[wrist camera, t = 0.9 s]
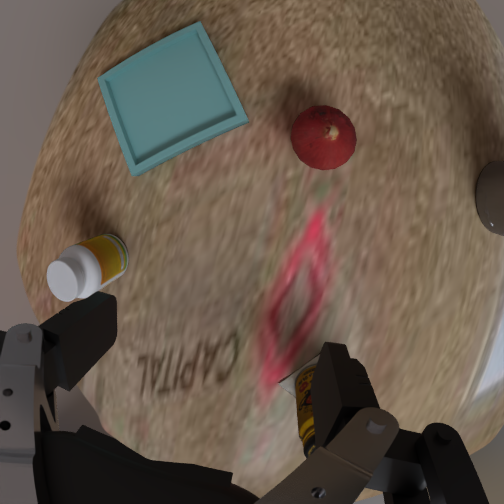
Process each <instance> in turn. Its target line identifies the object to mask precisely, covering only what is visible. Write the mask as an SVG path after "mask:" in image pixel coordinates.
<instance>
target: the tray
mask: <svg viewBox="0 0 504 504" xmlns="http://www.w3.org/2000/svg"><path fill="white" fill-rule="evenodd" d="M97 79H98V82H99V85H100V88H101V92H102V95H103V98H104V101H105V104H106V107H107V110H108V113H109V116H110V118H111V121H112V124H113V127H114V130H115V133H116V135H117V138H118V141H119V144H120V146H121V149H122V152H123V154H124V157H125V159H126V162H127V165H128V167H129V170H130V172H131V175H132V176H139V175H141V174H143V173H145V172H147V171H148V170H150V169H152V168H154V167H156V166H158V165H160V164H162V163H163V162H165V161H167V160H169V159H171V158H173V157H175V156H177V155H179V154H181V153H183V152H185V151H187V150H189V149H191V148H193V147H195V146H197V145H199V144H202V143H204V142H206V141H208V140H210V139H212V138H214V137H217V136H219V135H221V134H223V133H225V132H228V131H230V130H232V129H235V128H237V127H239V126H242V125H244V124H246V123H249V120H248V118H247V116H246V114H245V112H244V110H243V107H242V105H241V103H240V101H239V99H238V97H237V94H236V92H235V90H234V88H233V86H232V84H231V82H230V80H229V78H228V76H227V74H226V71H225V69H224V67H223V65H222V63H221V61H220V59H219V57H218V55H217V53H216V51H215V49H214V47H213V45H212V43H211V41H210V39H209V37H208V35H207V33H206V31H205V30H204V28H203V26H202V24H201V22H200V21H199V22H197V23H195V24H192V25H190V26H188V27H186V28H184V29H182V30H179V31H177V32H175V33H173V34H171V35H169V36H167V37H165V38H163V39H161V40H160V41H158V42H156V43H154V44H152V45H150V46H148V47H147V48H145V49H143V50H141V51H140V52H138V53H136V54H134V55H133V56H131V57H129V58H128V59H126V60H125V61H123V62H121V63H120V64H118V65H117V66H115V67H113V68H112V69H110V70H109V71H107V72H106V73H104V74H103V75H101V76H100V77H98V78H97Z"/></svg>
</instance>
